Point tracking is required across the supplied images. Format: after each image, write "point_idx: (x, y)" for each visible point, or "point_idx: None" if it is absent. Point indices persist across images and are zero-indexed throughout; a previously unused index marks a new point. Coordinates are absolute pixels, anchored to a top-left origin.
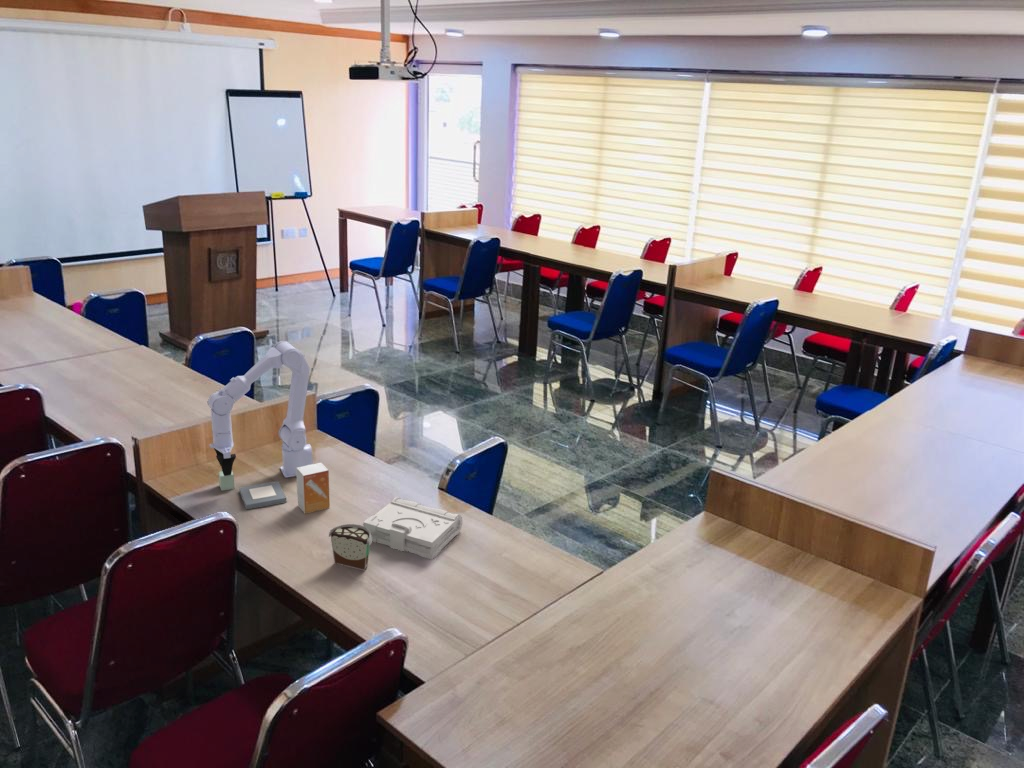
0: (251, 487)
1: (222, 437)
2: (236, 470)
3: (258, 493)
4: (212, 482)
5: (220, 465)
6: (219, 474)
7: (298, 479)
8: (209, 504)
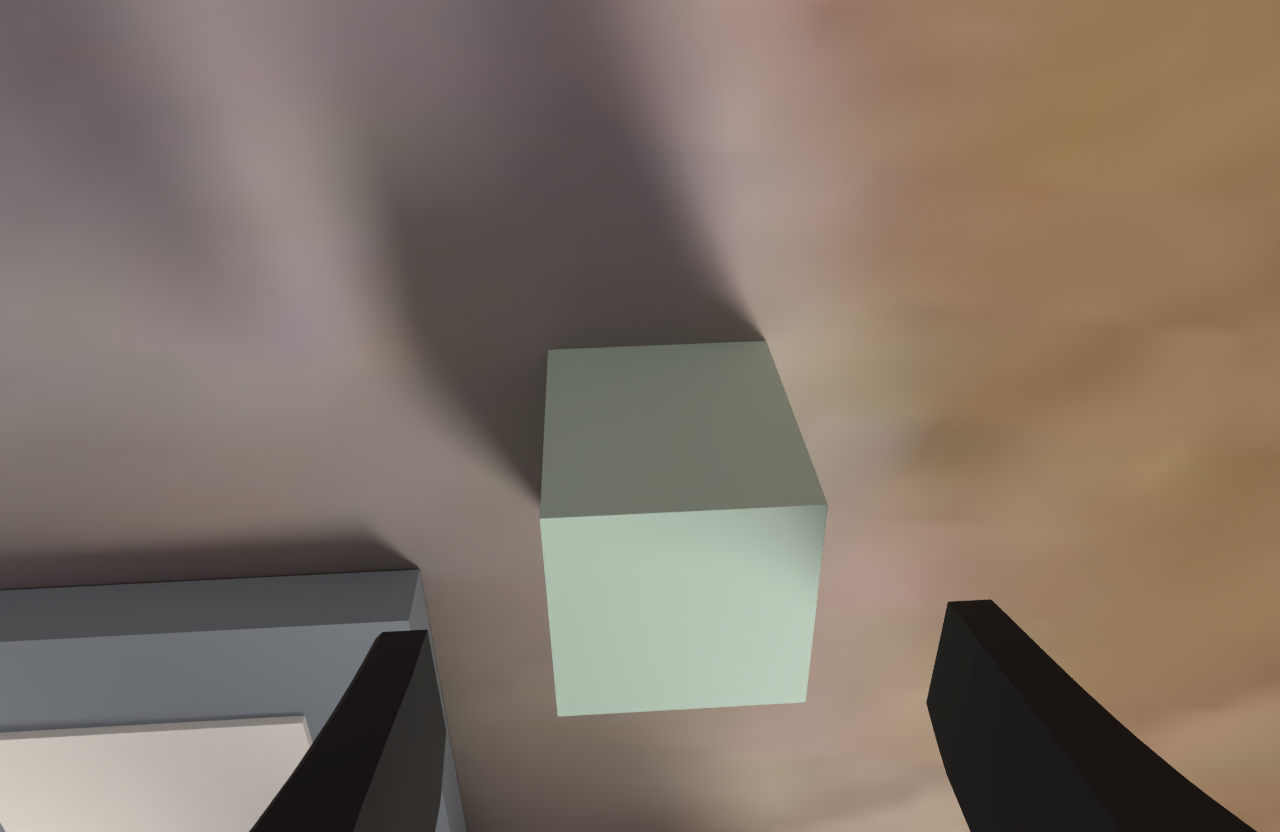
0: None
1: None
2: (1129, 586)
3: (140, 801)
4: (926, 242)
5: (948, 607)
6: (668, 507)
7: None
8: (21, 98)
